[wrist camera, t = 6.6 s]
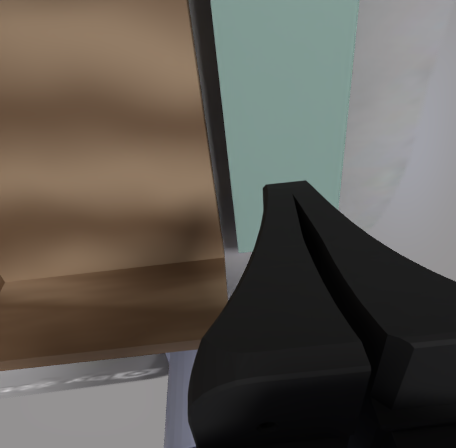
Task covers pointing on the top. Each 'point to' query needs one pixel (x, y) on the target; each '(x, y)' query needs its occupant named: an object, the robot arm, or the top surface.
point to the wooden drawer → (104, 184)
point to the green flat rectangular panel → (283, 97)
